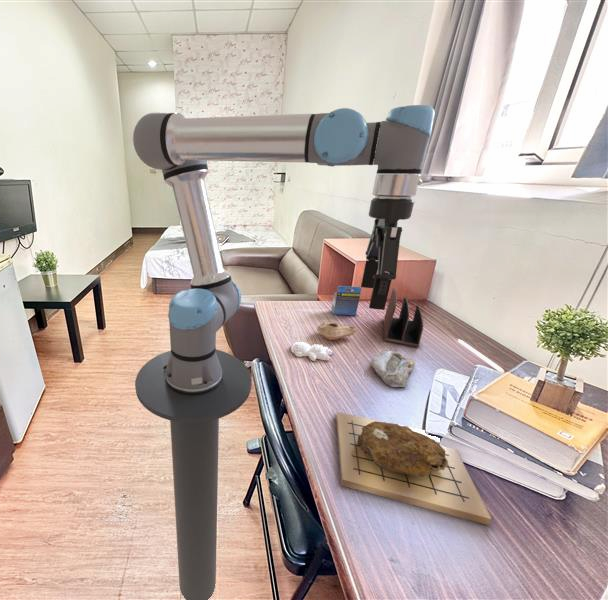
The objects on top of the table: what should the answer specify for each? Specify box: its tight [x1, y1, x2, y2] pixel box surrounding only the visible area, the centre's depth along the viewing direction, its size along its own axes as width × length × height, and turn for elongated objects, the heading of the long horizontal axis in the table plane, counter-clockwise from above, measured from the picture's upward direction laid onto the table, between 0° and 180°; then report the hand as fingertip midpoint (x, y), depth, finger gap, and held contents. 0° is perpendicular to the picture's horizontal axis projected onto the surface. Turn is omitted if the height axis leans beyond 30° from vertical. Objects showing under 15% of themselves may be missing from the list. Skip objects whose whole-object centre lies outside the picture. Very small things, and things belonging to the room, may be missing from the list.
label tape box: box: [330, 285, 362, 316], centre depth 123 cm, size 9×4×12 cm, turn 83°
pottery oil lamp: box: [317, 321, 357, 341], centre depth 105 cm, size 9×12×7 cm
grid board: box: [335, 411, 493, 526], centre depth 60 cm, size 22×18×2 cm
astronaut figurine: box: [290, 341, 333, 362], centre depth 97 cm, size 9×12×3 cm
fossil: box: [370, 349, 416, 388], centre depth 88 cm, size 18×10×3 cm, turn 139°
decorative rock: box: [357, 421, 448, 477], centre depth 59 cm, size 11×4×15 cm
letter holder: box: [383, 287, 424, 348], centre depth 108 cm, size 10×20×14 cm, turn 152°
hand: (371, 297), depth 69 cm, fingers open, 13 cm apart
